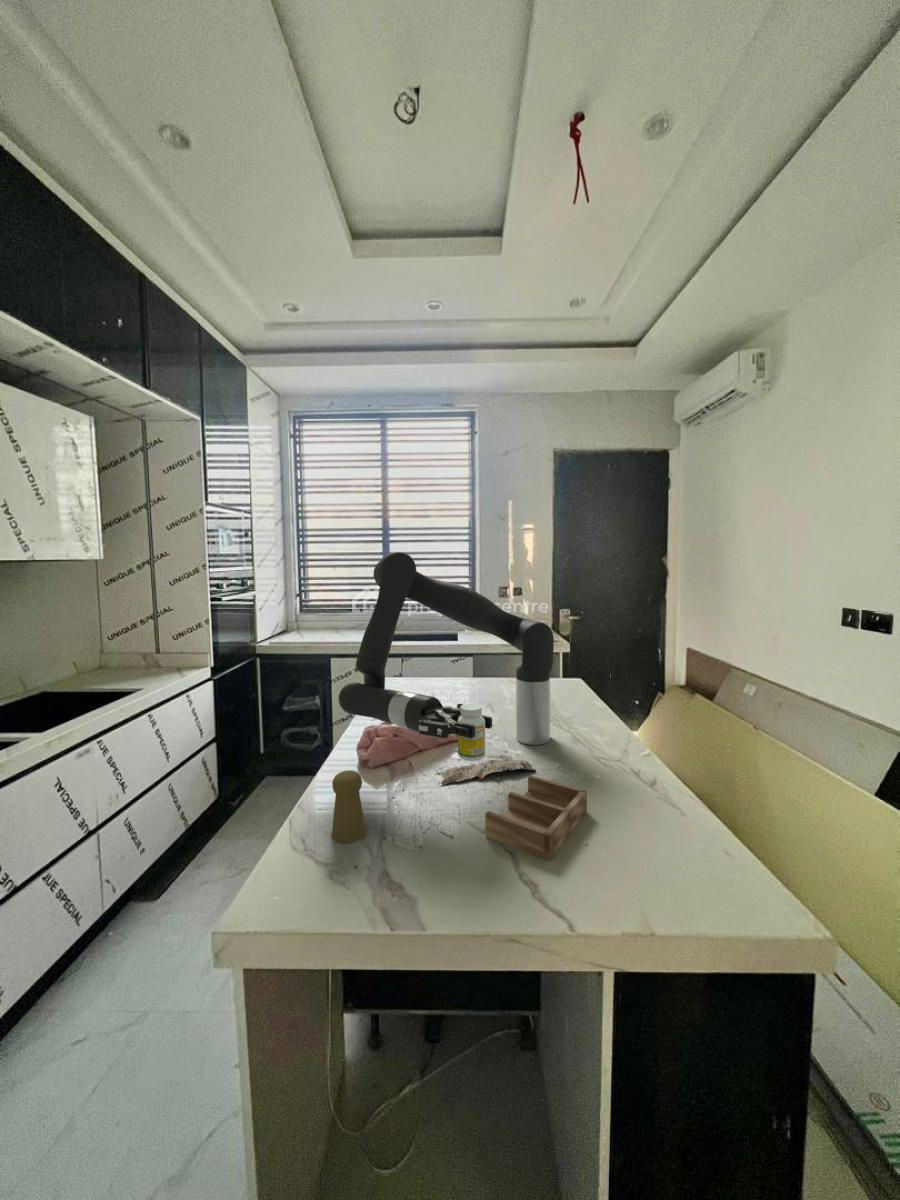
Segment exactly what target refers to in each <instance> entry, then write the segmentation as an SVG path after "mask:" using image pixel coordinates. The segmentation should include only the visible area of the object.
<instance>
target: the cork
mask: <svg viewBox="0 0 900 1200" xmlns="http://www.w3.org/2000/svg"><path fill="white" fill-rule="evenodd" d="M331 784H332V786H331V787H332V790H333V792H334V794H335V798H334V799H335V800H334V808H333V819H332V828H331V839H332V840H333V841H334V842H336V843H339V844H342V843H343V844H349V843H353V842H356V841H358V840H360V839H362V838H363V837H364V836H365V834H366V831H367V830H366V825H365V818H364V812H363V808H362V801H361V799H362V798H361V795H360V794H361V793H360V790H361V789H362V785H363V779H362V776H361V774H360V773H359V772H358V771H356V770H343V771H340V772H338V773H337V774H336V775H335V776H334V777H333V779H332V783H331Z"/></svg>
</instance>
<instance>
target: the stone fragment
mask: <svg viewBox="0 0 900 1200" xmlns="http://www.w3.org/2000/svg"><path fill="white" fill-rule="evenodd" d="M520 769H523V770H530V771H531V770H532V771H534V772H537V770H536V769H535V768H533V766H532V765H531V763H530V762H528V761H527V760H524V759H519V760H518V759H516V760H513V759H512V758H509V757H508V758H501V759H493V760H491V759H490V760H488V761H485V762H481V763H479V764H475V763H473V764H470V765H469V764H468V765H462V766H459V767H458V766H454V767H451V768H447V769H446V770H445V771H440V772H437V773H434V775H435V776H437V775H440V776H441V778H442V780H441V781H440V784H441V785H440V787H442V786H443V787H444V786H446V785H448V784H450V783H454V782H461V781H464V780H471V779H473V778H476V777H478V779H484V777H486V776H487V775H489V774H492V773H497V772H498V773H500V772H503V771H507V770H509V771H514V770H520Z"/></svg>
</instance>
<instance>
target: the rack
mask: <svg viewBox="0 0 900 1200" xmlns="http://www.w3.org/2000/svg"><path fill="white" fill-rule="evenodd" d="M507 797H508V805H507V806H508V809H507V810H506V811H504V812H503V813H502V814H499V813H495V812H493V811H489V810H488V811H486V812H485V815H484V816H485V817H484V820H485V826H484V827H485V829H484V830H485V837H486V838H489V839H491V840H495V841H497V842H499V843H502V844H503V845H506V846H509V847H512V848H515V849H516V850H517V849H518V850H520V851H523V852H525V853H528V854H531V855H533V856H535V857H538V858H540V859H544V860H545V859H546V861H548V862H550V861H551V859H552V858H553V856H554V855H555V854H556V853H557V852H558V850H559V849H560V848H561V847H562V845H563V844H564V843H565V842H566V840H567V839H568V837H569V836H570V835H571V833H572V832H573V830H574V829H575V828H576V827H577V826H578V824H579V823H580V822H581V820H582V819H583V818H584V816H585V815H586V813H587V812H588V790H586V789H582V788H578V787H575V786H572V785H571V786H570V785H567V784H564V783H559V782H557V781H553V780H548V779H545V778H541V777H538V776H536V775H535V776H534V775H530V774H529V776H527V792H525V793H524V794H520V793H516V792H513V791H509V793H508V796H507Z"/></svg>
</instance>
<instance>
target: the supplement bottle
mask: <svg viewBox="0 0 900 1200" xmlns="http://www.w3.org/2000/svg"><path fill="white" fill-rule="evenodd" d="M482 711H483V710H482V706H481V705H480V704H477V703H465V704H463V705H462V706H461V715H462V716H460V717H459V718H458V721H457V723H458V722H460V723H464V724H468V725H473V726H474V727H475V737H474V738H467V737H464V736H460V735H457V755H458V757H459V758H460V759H462V760H463V761H469V762H475V761H481V760H483V759H484V758H485V756H486V728H485V719H484V718H483V717H482V716H480V715H482V713H483V712H482Z"/></svg>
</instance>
